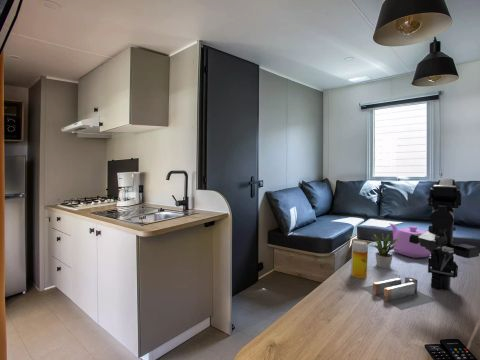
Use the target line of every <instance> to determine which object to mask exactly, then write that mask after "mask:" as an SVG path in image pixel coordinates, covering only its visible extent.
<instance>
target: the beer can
mask: <svg viewBox="0 0 480 360" xmlns="http://www.w3.org/2000/svg"><path fill="white" fill-rule="evenodd" d="M351 244H352V245H351V262H350V263H351V265H350V267H351V268H350V275H351V276H352V277H355V278H358V279H366V278H367V277H368V274H367V273H368V254H369V253H368V252H369V251H368V250H369V246H368V243H367V242H366V241H362V240H353V241H352V243H351Z"/></svg>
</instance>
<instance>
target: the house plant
mask: <svg viewBox="0 0 480 360" xmlns="http://www.w3.org/2000/svg"><path fill="white" fill-rule="evenodd" d="M389 233H390V232H389ZM389 233H388V234H387V236H386V237H385V236H384V234H383V232H382V233H381V234H382V240H381V238H379V237H378V235H376V234H374V233H373V236H374V237H372V239H373V240H374V242H375V243H376V244H377V245H376V244H375V245H374V244H372V245H370V246H368V248H370V247H373V248H376V249H377V252H376V253H375V261H376V262H375V263H376V266H378V267H379V268H383V269H389V268H391V264H392V261H393V255H392V254H390V253H392V252H394V250H397V251H398V250H399V249H393V248H394V246H397V245H394V246H392V244H394V242H396V241H397V239H400V238H397V239H395V240H393V239H392V240H391V241H389V240H390V234H389ZM401 241H402V240H401ZM396 244H397V243H396ZM392 250H393V251H392ZM390 251H392V252H390ZM389 252H390V253H389Z"/></svg>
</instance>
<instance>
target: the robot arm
mask: <svg viewBox="0 0 480 360" xmlns="http://www.w3.org/2000/svg"><path fill="white" fill-rule="evenodd" d="M461 205H462V192H461V187H460V186H459V185H458V184H456V180H455V179H453V178H439V179H438V182H437V183H436V184H433V185H432V187H430V189H429V196H428V206H429V207H432V211H431V214H430V217H429V220H430V221H429V222H430V223H431V224H430V225H429V226H428V230H427V231H428V232H425V233H423V234H421V233H418V234H411V235H410V237H409V242H411V243H414V244H418V243H420V246H422V247H425V249H427V250H429V251H430V252H431V255H430V256H428V262H427V273H429V274H431V278H430V279H431V280H430V281H431V282H430V288H432V289H435V290H437V291H449V290H450V289H451V279H452V278H453V279H456V278H458V275H459V274H458V273H459V266H458V264H457V261H454V255H456V257H457V256H458V257H462V258H464V259H473V258H478V257H480V250H479V248H478V246H474V245H470V244H466V243H461V244H455V243H456V239H454V238H453V237H454V232H455V231H456V229H457V228H456V226H454V222H455V209H459V207H461Z"/></svg>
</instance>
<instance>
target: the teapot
mask: <svg viewBox="0 0 480 360" xmlns="http://www.w3.org/2000/svg"><path fill="white" fill-rule="evenodd" d="M389 225H390V226H391V228H392V241H393V240H395V239H397V238H400V239H397V241H396V242H394V244H392V245H391V246H394V245H397V246H394V248H393V249H399V250H398V251H397V250H393V252H395V253H397V254H400V255H402V256H406V257H409V258H411V257H412V259H417V258H428V257H431V252H430V251H429V250H427V249H425V247H422V246H420V243H418V244H414V243H411V242H409V237H410V235H411V234H418V233H421V234H423V233H425V232H428V230H427V229H426V230H423V229H422V230H421V229H418V226H414V225H410V226H408V227H409V228H407V227H405V228H399V229H398V228H397V226H396V225H395V224H394V223H389ZM401 240H402V241H401ZM396 243H397V244H396Z"/></svg>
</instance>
